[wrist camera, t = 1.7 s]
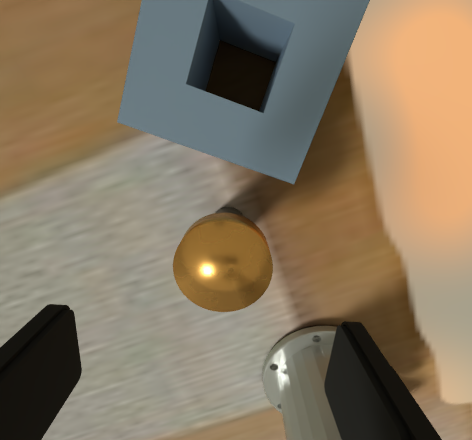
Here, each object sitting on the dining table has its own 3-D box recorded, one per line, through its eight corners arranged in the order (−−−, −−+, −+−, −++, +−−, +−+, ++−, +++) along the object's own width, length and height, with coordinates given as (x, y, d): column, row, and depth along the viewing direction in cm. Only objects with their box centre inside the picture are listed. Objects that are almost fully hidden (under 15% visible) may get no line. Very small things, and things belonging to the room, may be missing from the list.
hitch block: (330, 32, 20) (379, -23, 13) (277, 171, 23) (293, 184, 16) (191, -25, 19) (165, -118, 12) (154, 127, 22) (117, 122, 15)
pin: (270, 204, 24) (288, 240, 15) (247, 261, 26) (252, 322, 17) (206, 182, 24) (188, 207, 15) (188, 242, 25) (162, 295, 17)
